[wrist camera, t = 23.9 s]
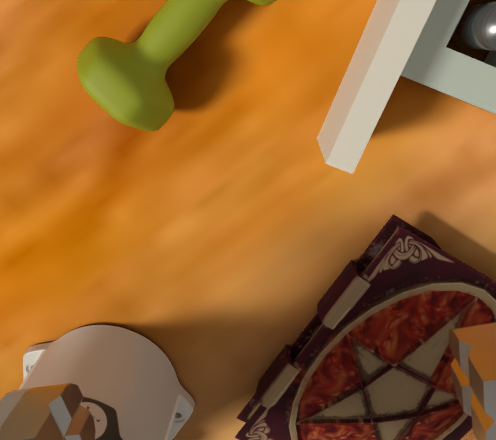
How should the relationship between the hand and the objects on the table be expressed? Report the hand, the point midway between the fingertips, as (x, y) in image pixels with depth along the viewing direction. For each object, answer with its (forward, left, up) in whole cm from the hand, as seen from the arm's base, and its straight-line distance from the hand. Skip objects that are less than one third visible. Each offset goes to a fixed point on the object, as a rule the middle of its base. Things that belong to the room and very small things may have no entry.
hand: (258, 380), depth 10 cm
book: (-20, -20, -32) cm, 43 cm away
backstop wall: (+12, -5, -31) cm, 34 cm away
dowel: (+12, -11, -31) cm, 35 cm away
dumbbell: (+5, +9, -32) cm, 33 cm away
